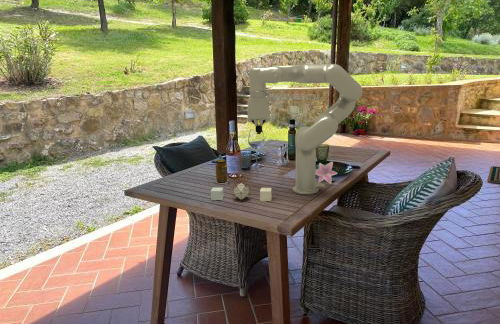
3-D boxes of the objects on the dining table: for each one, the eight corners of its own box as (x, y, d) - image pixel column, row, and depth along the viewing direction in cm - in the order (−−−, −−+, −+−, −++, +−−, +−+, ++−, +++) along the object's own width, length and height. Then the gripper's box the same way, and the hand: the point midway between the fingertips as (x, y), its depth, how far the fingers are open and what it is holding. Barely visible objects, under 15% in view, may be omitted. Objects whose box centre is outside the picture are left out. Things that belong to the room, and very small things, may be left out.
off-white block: (271, 197, 185) (271, 187, 184) (271, 201, 181) (270, 191, 179) (261, 197, 186) (260, 187, 185) (260, 201, 181) (259, 191, 180)
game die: (240, 205, 187) (240, 185, 191) (254, 201, 183) (254, 181, 186) (228, 201, 181) (228, 180, 185) (242, 197, 176) (242, 176, 180)
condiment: (227, 179, 215) (226, 158, 212) (230, 184, 207) (229, 162, 204) (214, 181, 213) (212, 159, 210) (216, 185, 205) (215, 163, 202)
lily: (308, 181, 210) (309, 169, 203) (321, 169, 216) (322, 156, 209) (327, 192, 204) (328, 179, 197) (340, 179, 210) (342, 166, 203)
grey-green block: (223, 197, 188) (223, 187, 187) (221, 201, 183) (221, 191, 182) (213, 197, 189) (212, 187, 187) (211, 201, 184) (210, 191, 183)
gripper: (274, 93, 185) (275, 132, 189) (243, 94, 186) (244, 132, 191) (273, 95, 177) (274, 135, 182) (240, 96, 179) (242, 135, 184)
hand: (259, 133), depth 187 cm, fingers closed
